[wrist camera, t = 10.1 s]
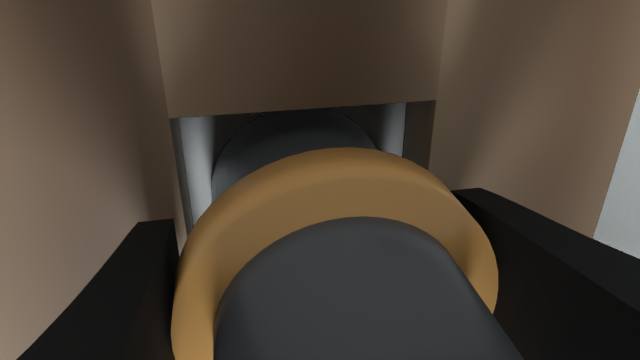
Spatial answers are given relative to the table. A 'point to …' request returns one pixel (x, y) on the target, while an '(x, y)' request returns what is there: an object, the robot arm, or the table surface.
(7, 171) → the socket block
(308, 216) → the plug
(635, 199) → the table surface
